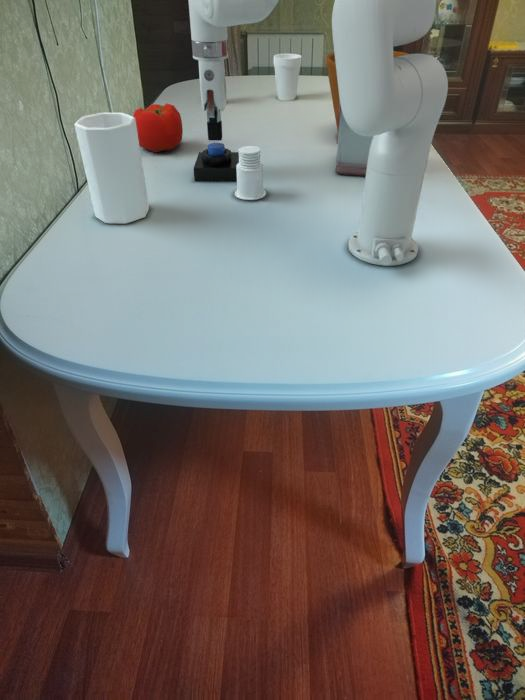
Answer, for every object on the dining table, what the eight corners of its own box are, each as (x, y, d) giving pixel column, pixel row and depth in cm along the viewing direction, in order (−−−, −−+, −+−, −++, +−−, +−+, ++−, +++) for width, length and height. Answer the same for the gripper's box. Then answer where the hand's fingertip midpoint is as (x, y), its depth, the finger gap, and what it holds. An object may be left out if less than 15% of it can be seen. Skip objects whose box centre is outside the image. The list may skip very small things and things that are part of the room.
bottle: (374, 178, 121) (394, 30, 101) (331, 175, 122) (343, 29, 103) (376, 157, 132) (395, 20, 112) (336, 155, 133) (348, 19, 114)
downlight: (272, 198, 112) (272, 152, 105) (243, 204, 109) (241, 157, 103) (257, 185, 117) (256, 141, 111) (229, 191, 115) (226, 146, 109)
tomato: (151, 160, 131) (145, 117, 124) (127, 147, 138) (120, 106, 132) (195, 149, 137) (192, 107, 130) (170, 137, 145) (165, 97, 138)
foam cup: (269, 96, 180) (270, 54, 172) (294, 94, 182) (295, 52, 174) (278, 102, 173) (279, 59, 165) (303, 100, 175) (305, 57, 167)
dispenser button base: (236, 181, 119) (236, 160, 116) (194, 181, 120) (192, 160, 116) (239, 164, 128) (238, 144, 125) (199, 164, 128) (198, 144, 125)
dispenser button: (224, 156, 119) (223, 148, 118) (207, 156, 119) (206, 148, 118) (225, 151, 122) (225, 142, 121) (209, 151, 122) (208, 142, 121)
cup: (92, 206, 109) (71, 115, 97) (144, 199, 112) (130, 109, 100) (98, 228, 101) (76, 131, 89) (154, 219, 104) (140, 125, 92)
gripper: (225, 56, 101) (229, 150, 113) (230, 43, 113) (233, 129, 124) (187, 56, 101) (195, 150, 113) (196, 43, 113) (202, 129, 124)
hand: (215, 139), depth 119 cm, fingers closed
